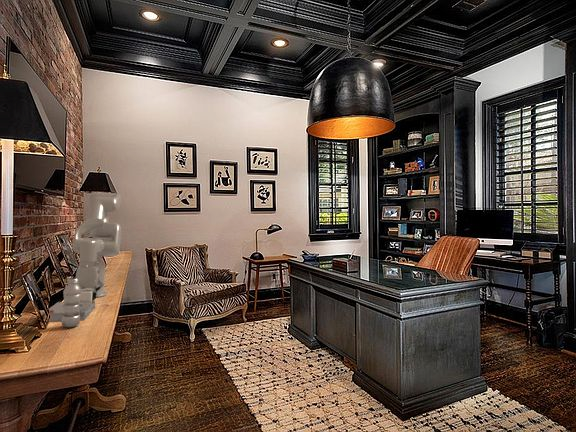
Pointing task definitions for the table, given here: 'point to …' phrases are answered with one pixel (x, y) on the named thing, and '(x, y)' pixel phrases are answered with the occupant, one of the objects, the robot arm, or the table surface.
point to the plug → (86, 295)
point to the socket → (58, 310)
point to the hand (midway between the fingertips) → (86, 299)
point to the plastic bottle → (71, 303)
